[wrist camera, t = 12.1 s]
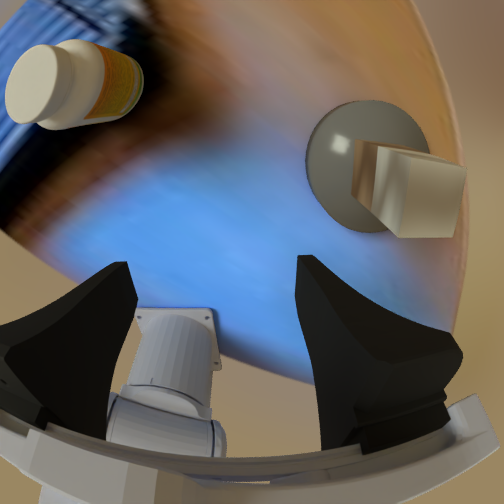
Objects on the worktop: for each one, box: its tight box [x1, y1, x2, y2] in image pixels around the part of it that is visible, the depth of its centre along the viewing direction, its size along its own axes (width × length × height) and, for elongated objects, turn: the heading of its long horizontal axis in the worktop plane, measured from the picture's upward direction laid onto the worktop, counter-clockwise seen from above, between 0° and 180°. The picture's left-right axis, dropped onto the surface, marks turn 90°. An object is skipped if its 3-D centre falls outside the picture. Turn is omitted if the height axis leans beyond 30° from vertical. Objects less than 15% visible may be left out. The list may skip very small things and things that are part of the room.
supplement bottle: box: [5, 39, 144, 130], centre depth 11 cm, size 5×5×10 cm
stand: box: [305, 100, 430, 233], centre depth 18 cm, size 10×10×2 cm
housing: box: [351, 139, 467, 238], centre depth 14 cm, size 4×4×7 cm
